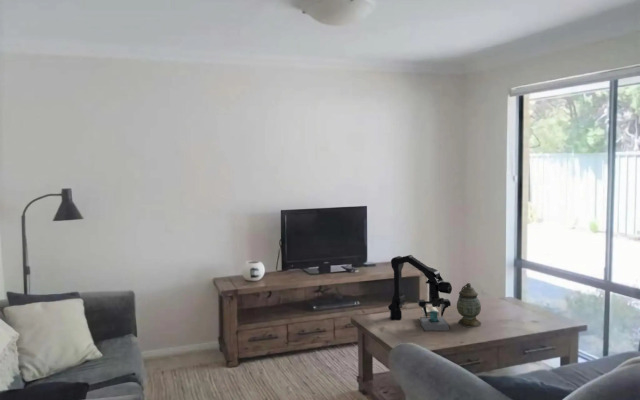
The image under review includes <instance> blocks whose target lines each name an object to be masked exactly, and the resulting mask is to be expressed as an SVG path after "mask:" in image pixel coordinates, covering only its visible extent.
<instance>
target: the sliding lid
mask: <svg viewBox="0 0 640 400" xmlns="http://www.w3.org/2000/svg"><path fill="white" fill-rule="evenodd" d="M420 308H421V307H420ZM420 311H421V314H422V315H423V317H426V316H425V313H424V310H423V308H421V310H420ZM426 311H427V317H430V311H437V317H440V311H439V310H438V308H437V307H433V306H428V307H427V306H426Z"/></svg>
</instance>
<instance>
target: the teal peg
mask: <svg viewBox="0 0 640 400" xmlns="http://www.w3.org/2000/svg"><path fill="white" fill-rule="evenodd" d="M429 317H430V322H437V317H438V316H437V311H430V316H429Z"/></svg>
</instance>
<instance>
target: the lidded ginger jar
mask: <svg viewBox="0 0 640 400" xmlns="http://www.w3.org/2000/svg"><path fill="white" fill-rule="evenodd" d="M458 294H459V295H458V299H457V301H456V310H457V312H458V314H459V315H460V316H462V318H460V319H459V320H458V322H457V323H458V325H460V326H462V327H465V328H477V327H481V326H482V323H481V321H479V319H477V317H478V316H479V314H480V313H481V310H482V305H481V301H480V299H479V298H478V295H479V293H478V292H477V291H476V290H475V289H474V287H473V286H471V283H469V282H467V283H466V284H465V285H463V286H462V287H461V289H460V291H459V292H458Z"/></svg>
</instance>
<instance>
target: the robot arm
mask: <svg viewBox="0 0 640 400" xmlns="http://www.w3.org/2000/svg"><path fill="white" fill-rule="evenodd" d="M406 263H408V264H409V265H411V266H413V267H414V268H415V269H416V270H418V271H420V272H421V273H422V274H423V275H424V276H425V277H426V279H427V280H426V281H425V284H428V301H427V300H425V299H417V305H418V307H420V308H423V310H424V313H425V316H424V317H428V316H427V311H426V307H427V305H431V307H436V308H437V307H438V308H440V307H441V309H440V317H444V313H445V310H446V309H447V308H449V307H452V306H451V304H452V303H451V301H450V299H448V298H443V297H440V293H441V294H448V295H450V294H451V293H452V290H453V287H452V284H451V281H445V280H444V279H443V277H442V275H441V274H440V273H441V272H440V271H439V270H438V269H435V268H433V267H430V266H427V264H425V263H423V262H421V260H419V259H417V258H416V257H414V256H413V255H412V254H409V255H405V256H400V255H398V256H395V257H392V259H391V260H390V266H391V268H392V270H393V295H392V298H391V303H390V304H389V305H388V306H387V307H388V310H389V311H390V312H389V318H390V320H391V321H392V320H393V321H396V320H398V321H399V320H400V321H401V320H402V315H403V314H402V310H401V308H403V306H404V305H405V303H406V295H403V291H402V290H403V288H402V286H403V283H402V278H403V276H402V270H403V268H404V264H406Z"/></svg>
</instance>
